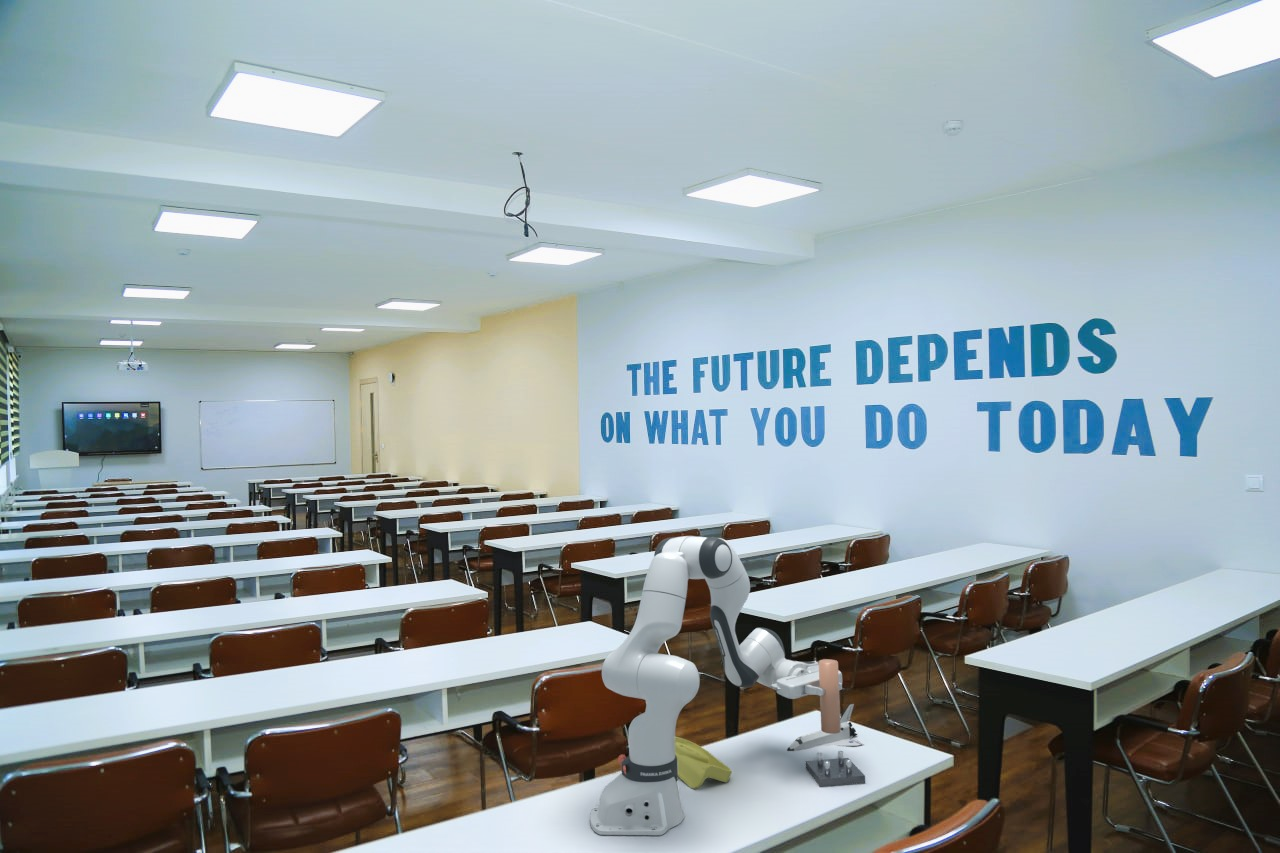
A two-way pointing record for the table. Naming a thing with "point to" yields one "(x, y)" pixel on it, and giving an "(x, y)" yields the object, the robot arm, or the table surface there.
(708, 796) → the table surface
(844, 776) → the plate
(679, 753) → the plastic component
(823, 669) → the canister
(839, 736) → the space shuttle model
